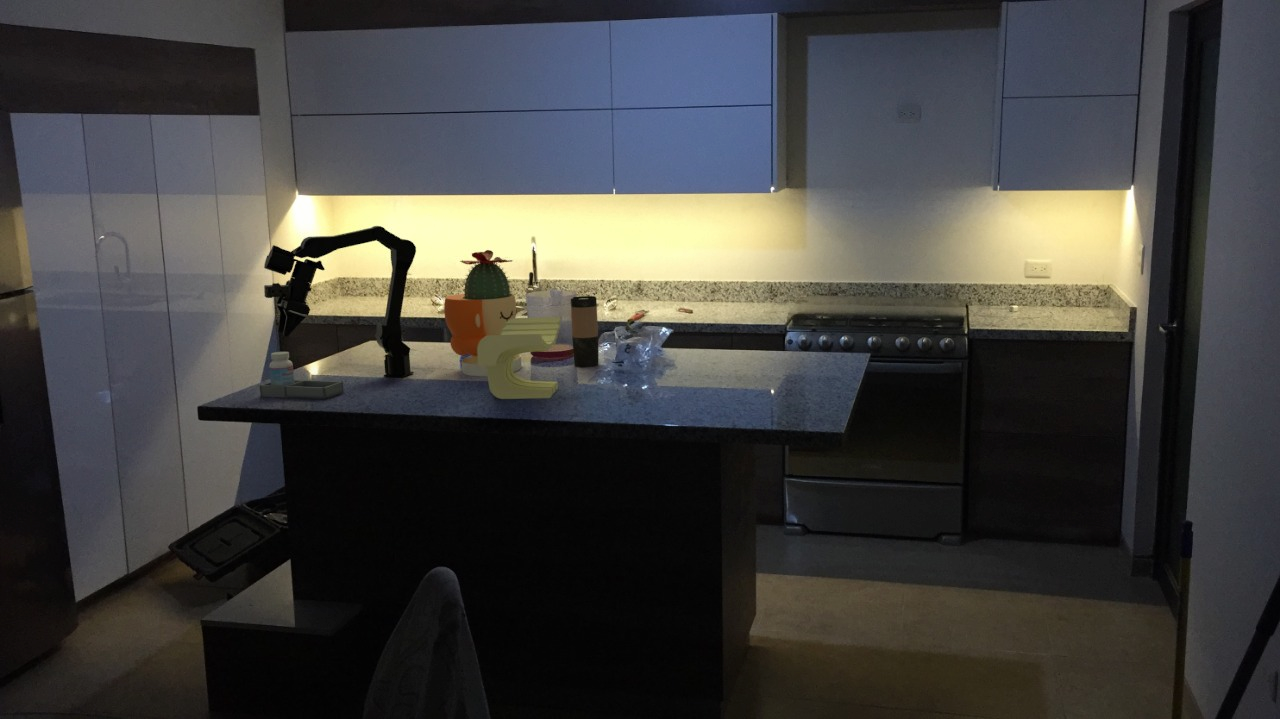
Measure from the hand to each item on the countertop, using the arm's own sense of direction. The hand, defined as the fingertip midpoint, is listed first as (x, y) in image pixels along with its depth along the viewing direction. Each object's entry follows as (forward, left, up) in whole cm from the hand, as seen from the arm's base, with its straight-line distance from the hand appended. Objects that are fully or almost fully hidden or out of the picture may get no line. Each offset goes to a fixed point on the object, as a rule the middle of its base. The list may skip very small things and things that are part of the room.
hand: (282, 334), depth 302 cm
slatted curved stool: (-70, -5, -15) cm, 72 cm away
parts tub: (-10, +7, -15) cm, 19 cm away
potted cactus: (-43, -35, -15) cm, 58 cm away
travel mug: (-71, -46, -15) cm, 86 cm away
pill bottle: (-4, +7, -15) cm, 17 cm away
